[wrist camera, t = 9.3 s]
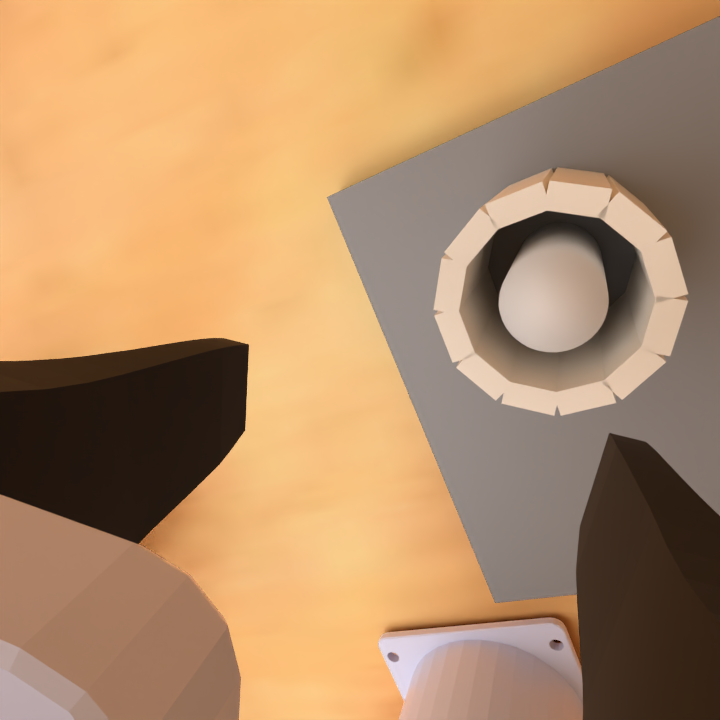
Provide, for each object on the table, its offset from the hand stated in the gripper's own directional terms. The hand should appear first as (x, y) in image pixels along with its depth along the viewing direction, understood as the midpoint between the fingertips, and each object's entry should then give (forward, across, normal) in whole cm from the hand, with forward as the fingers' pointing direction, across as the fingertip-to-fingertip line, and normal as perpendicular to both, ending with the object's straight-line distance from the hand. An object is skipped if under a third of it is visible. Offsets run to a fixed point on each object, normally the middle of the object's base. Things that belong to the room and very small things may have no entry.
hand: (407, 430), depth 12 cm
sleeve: (+8, -2, -2) cm, 9 cm away
